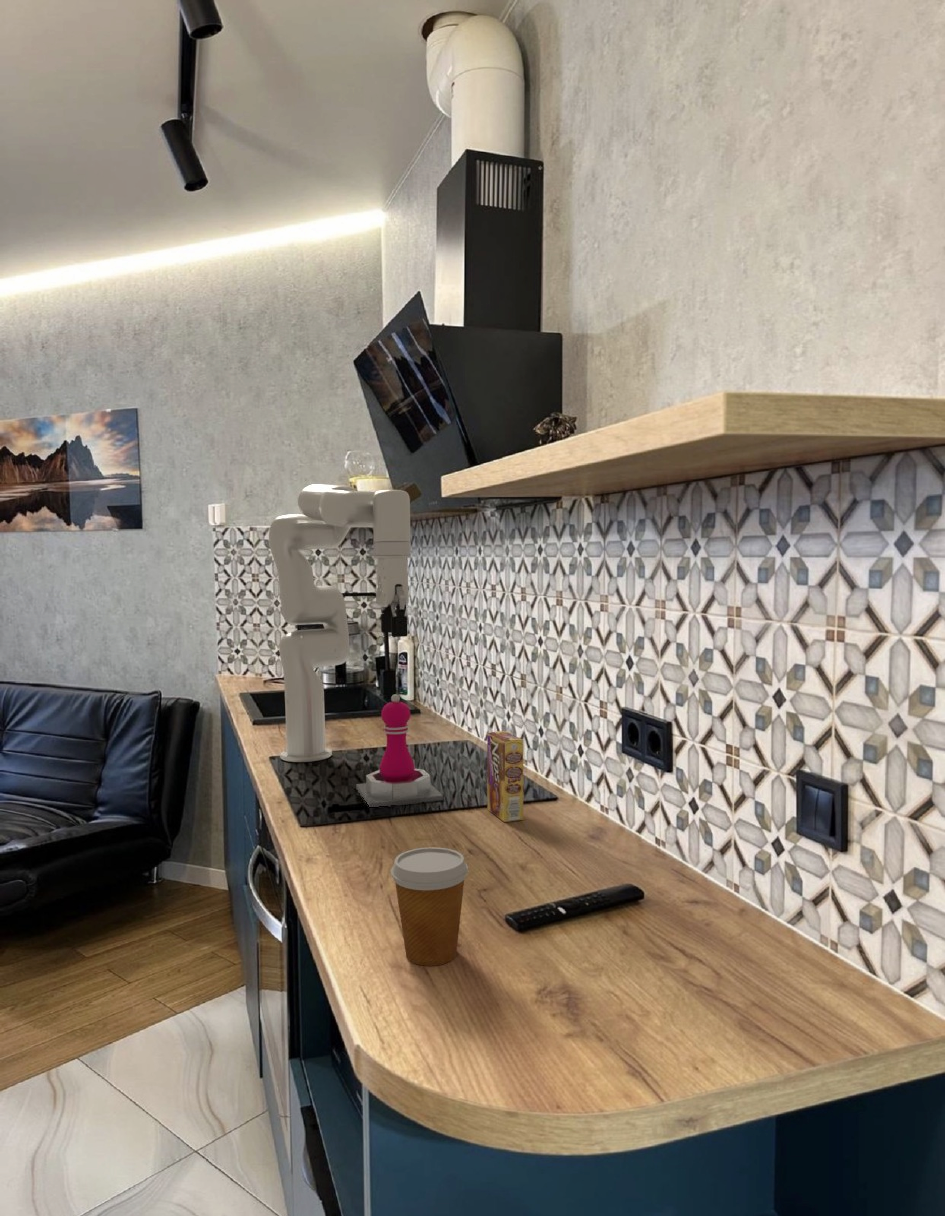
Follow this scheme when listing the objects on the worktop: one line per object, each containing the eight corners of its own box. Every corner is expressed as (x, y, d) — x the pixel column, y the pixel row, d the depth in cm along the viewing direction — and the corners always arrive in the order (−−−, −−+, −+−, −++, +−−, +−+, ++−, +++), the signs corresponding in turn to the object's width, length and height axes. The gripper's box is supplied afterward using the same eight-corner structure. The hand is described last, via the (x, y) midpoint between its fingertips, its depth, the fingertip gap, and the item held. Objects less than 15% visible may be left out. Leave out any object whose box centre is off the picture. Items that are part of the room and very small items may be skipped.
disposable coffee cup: (485, 953, 104) (483, 858, 103) (427, 981, 97) (425, 880, 96) (434, 929, 111) (432, 840, 110) (377, 954, 104) (374, 860, 103)
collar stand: (356, 788, 179) (355, 770, 179) (424, 781, 183) (423, 763, 183) (369, 808, 165) (369, 788, 164) (443, 800, 169) (442, 780, 169)
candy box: (525, 820, 156) (524, 739, 155) (504, 823, 154) (502, 741, 153) (507, 807, 164) (506, 730, 163) (486, 809, 162) (485, 732, 161)
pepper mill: (417, 785, 177) (415, 691, 176) (411, 795, 170) (409, 697, 169) (384, 784, 178) (381, 691, 177) (376, 794, 171) (374, 697, 169)
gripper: (366, 551, 178) (368, 631, 179) (383, 551, 162) (385, 639, 163) (400, 551, 180) (402, 630, 181) (420, 550, 164) (422, 637, 165)
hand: (394, 634), depth 172 cm, fingers open, 9 cm apart
